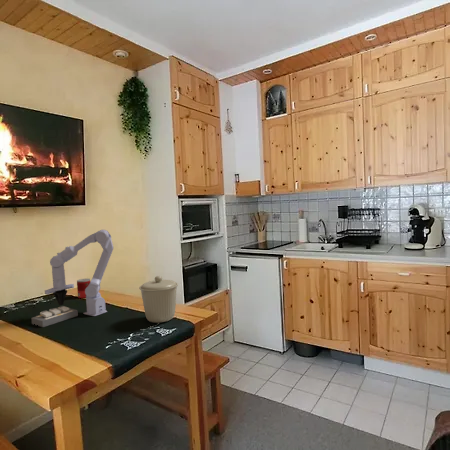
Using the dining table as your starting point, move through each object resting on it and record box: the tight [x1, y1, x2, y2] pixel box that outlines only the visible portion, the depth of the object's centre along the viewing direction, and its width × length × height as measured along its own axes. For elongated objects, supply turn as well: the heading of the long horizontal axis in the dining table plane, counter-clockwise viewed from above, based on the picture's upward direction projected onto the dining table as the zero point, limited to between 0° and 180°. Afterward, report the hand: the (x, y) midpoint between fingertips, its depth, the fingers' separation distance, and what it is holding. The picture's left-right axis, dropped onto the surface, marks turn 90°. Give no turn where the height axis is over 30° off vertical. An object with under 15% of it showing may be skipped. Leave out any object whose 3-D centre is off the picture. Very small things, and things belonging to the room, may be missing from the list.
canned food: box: [76, 278, 91, 300], centre depth 210 cm, size 8×8×11 cm
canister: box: [139, 275, 179, 324], centre depth 160 cm, size 18×18×21 cm
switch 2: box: [48, 307, 61, 315], centre depth 167 cm, size 5×3×1 cm, turn 57°
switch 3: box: [57, 305, 70, 312], centre depth 171 cm, size 5×3×1 cm, turn 57°
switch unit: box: [31, 307, 79, 328], centre depth 167 cm, size 10×18×3 cm, turn 147°
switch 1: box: [39, 310, 52, 317], centre depth 163 cm, size 5×3×1 cm, turn 57°
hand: (61, 304), depth 172 cm, fingers closed
